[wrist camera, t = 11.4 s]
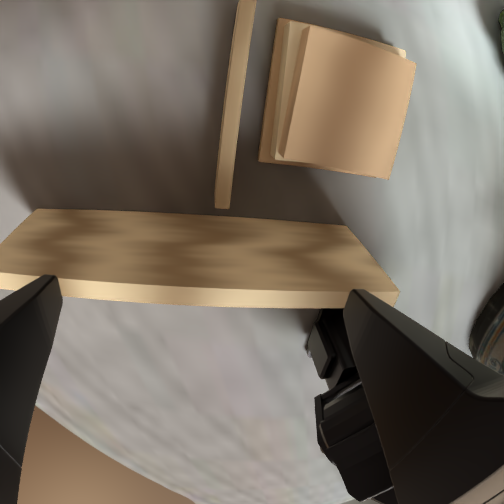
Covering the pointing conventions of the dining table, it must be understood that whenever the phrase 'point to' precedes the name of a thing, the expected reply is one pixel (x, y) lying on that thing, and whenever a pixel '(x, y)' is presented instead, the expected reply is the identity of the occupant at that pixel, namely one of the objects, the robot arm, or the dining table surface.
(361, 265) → the rack
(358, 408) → the robot arm
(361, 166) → the offcut top
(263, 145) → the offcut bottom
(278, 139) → the offcut middle
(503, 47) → the vegetable
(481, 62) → the dining table surface
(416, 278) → the dining table surface
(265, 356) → the dining table surface
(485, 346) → the beer stein
